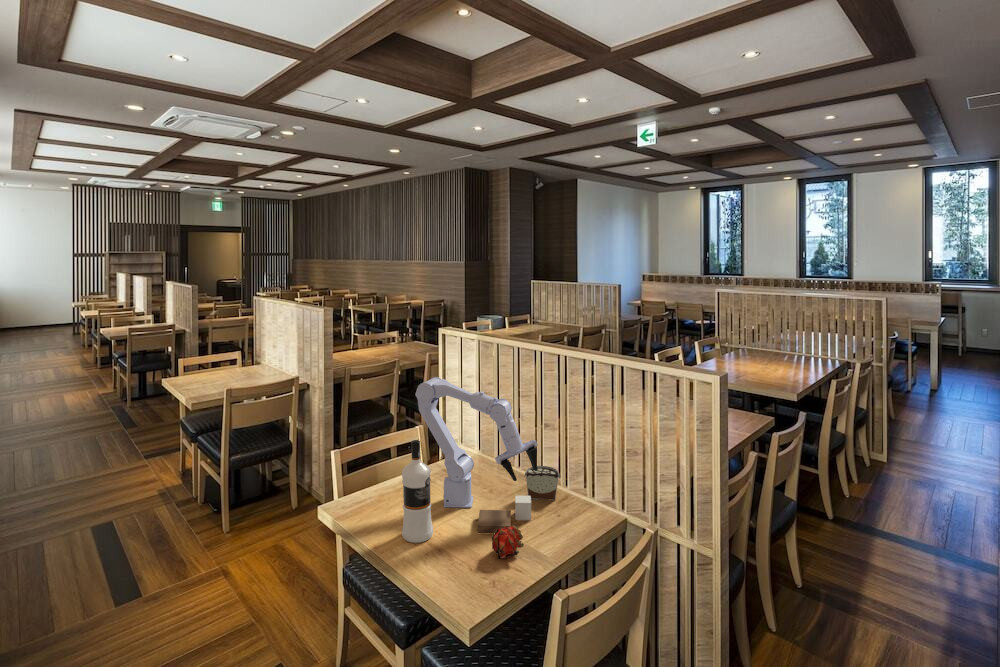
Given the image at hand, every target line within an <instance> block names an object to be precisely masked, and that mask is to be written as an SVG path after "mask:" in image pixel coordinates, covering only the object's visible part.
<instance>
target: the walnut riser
mask: <svg viewBox="0 0 1000 667" xmlns="http://www.w3.org/2000/svg"><path fill="white" fill-rule="evenodd" d="M511 512H512V511H511V510H510V509H507V510H505V509H479V512H478V522H477V534H478V533H495V532H496V530H497V529H499V528H500V529H503V528H504V526H505V525H506V526H509V527H510V526H512V525H511V523H512V521H511V520H512V519H511V518H512V515H511Z"/></svg>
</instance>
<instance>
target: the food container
mask: <svg viewBox="0 0 1000 667" xmlns="http://www.w3.org/2000/svg"><path fill="white" fill-rule="evenodd" d="M537 469H538V470H537V471H535V470H533V467H532V466H531V467H528V468H527V469H526V470H525V473H524V478H525V479H526V489H527V496H531V500H538V499H552V500H551V501H556V497H557V491H558V485H559V484H558V483H559V479H561V476H560V473H559V471H558V469H556V468H554V467H552V466H548V465H537Z"/></svg>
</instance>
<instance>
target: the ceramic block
mask: <svg viewBox="0 0 1000 667" xmlns="http://www.w3.org/2000/svg"><path fill="white" fill-rule="evenodd" d="M514 497H515V501H514V504H515V505H514V506H515V507H514V508H515V510H514V514H515V515H514V517H515V521H531V520H532V499H531V496H528V495H515V496H514Z"/></svg>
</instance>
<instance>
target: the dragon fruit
mask: <svg viewBox="0 0 1000 667" xmlns="http://www.w3.org/2000/svg"><path fill="white" fill-rule="evenodd" d="M523 538H524V536H523V535H522V532H521V529H519V528H518V527H517V525H514V524H513V525H511V526H510V527H509V526H506V525H505V526H504V528H503V529H500V528H499V529H497V530H496V532H495V534H492V537H491V549H492V550H493V551H494V553H495V555H497V559H501V560H502V559H507V558H508V557H509V555H511V557H515V556H517V555H518V554H519V553H520V551H519V550H517V549H518V548H519V549H521V548H523V547H524V546H525V544H524V543H523V542H522V540H523Z"/></svg>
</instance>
